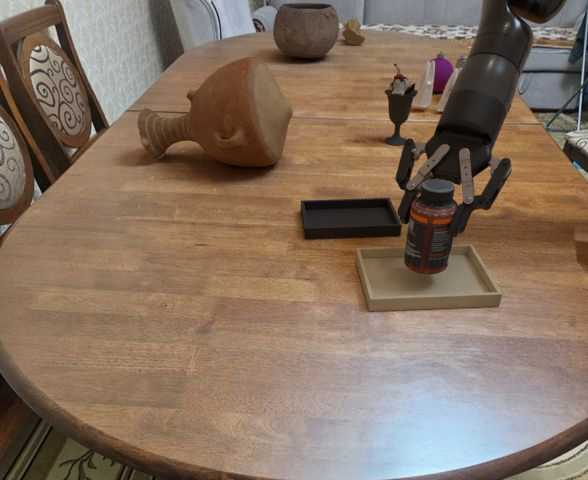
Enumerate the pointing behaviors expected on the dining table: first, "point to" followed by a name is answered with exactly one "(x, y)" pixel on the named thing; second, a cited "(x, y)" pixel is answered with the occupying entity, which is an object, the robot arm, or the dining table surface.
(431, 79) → the shaker set
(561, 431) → the dining table surface
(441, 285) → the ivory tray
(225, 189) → the dining table surface
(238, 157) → the jug
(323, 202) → the charcoal tray
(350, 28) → the cat figurine
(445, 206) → the supplement bottle
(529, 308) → the dining table surface
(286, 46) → the clay pot
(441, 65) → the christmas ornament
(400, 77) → the sundae
